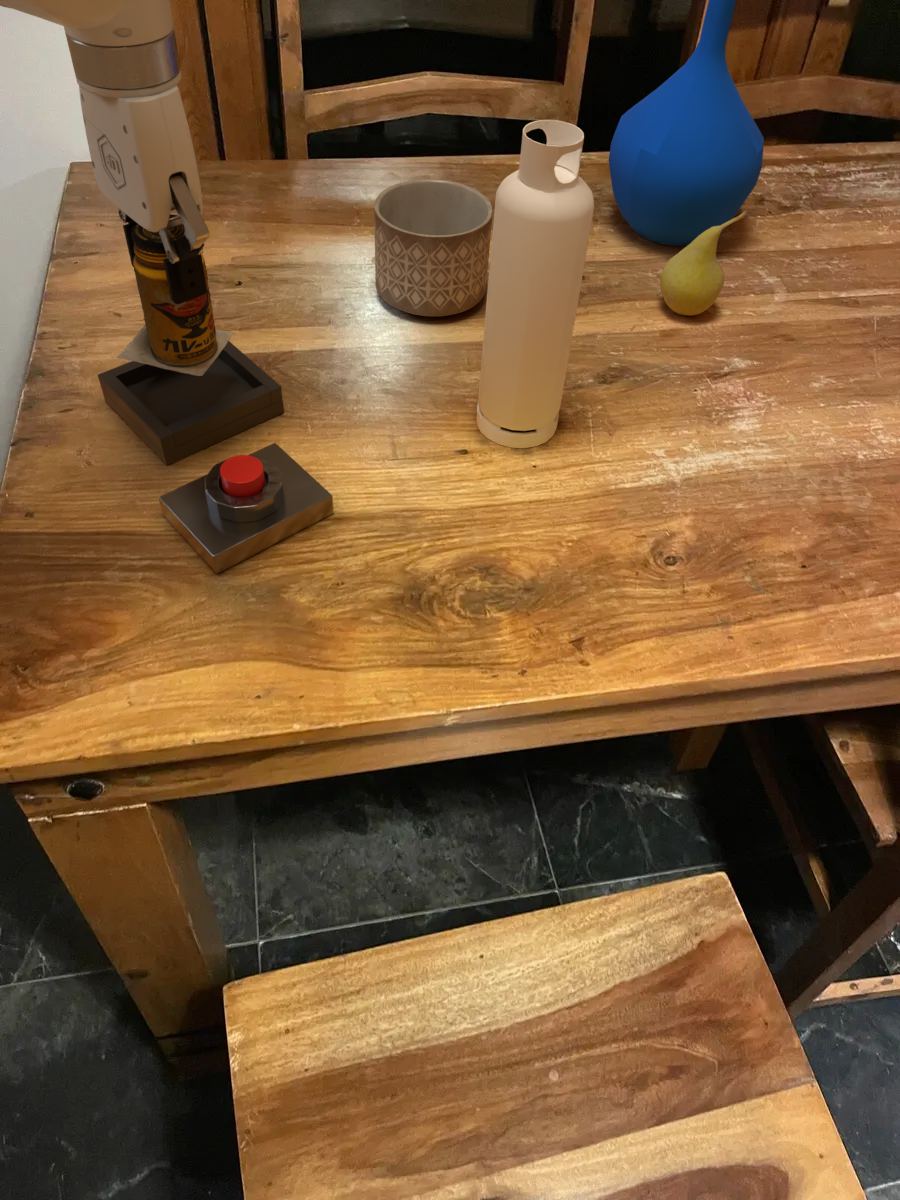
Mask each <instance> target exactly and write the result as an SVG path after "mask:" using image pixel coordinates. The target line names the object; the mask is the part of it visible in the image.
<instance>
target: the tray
mask: <svg viewBox="0 0 900 1200" xmlns="http://www.w3.org/2000/svg"><path fill="white" fill-rule="evenodd" d="M97 379H98V382H99V384H100V385H99V386H100V388H101V391H102V395H103V398H104V402H105V403H106V404H107V405H108V406H109V407H110V408H111V410H112V411H114V413H116V414H117V415H118V416H119V417H120V418H121V419H122V421H123V422H124V423H125V424H126V425H127V426H128V427H129V428H130V429H131V430H132V431H133V432H134V433H135V434H136V435H137V436H138V437H139V438H140V439H141V441H143V443H144V444H145V445H146V446H147V447H148V448H149V449H150V450H151V451H152V452H153V453H154V454H155V455H156V456H157V457H158V458H159V459H160V460H161V461H162V462H163V464H164V465H165V466H170V465H171V464H173V463H175V462H178V461H180V460H182V459H184V458H187V457H189V456H191V455H193V454H196V453H198V452H200V451H203V450H204V449H206V448H209V447H211V446H213V445H215V444H218V443H219V442H223V441H224V440H226V439H229V438H231V437H234V436H235V435H238V434H240V433H242V432H244V431H247V430H249V429H251V428H253V427H255V426H257V425H259V424H262V423H264V422H266V421H268V420H270V419H274V418H275V417H278V416H280V415H282V414H284V413H285V410H284V402H283V401H284V400H283V393H282V392H283V391H282V386H281V385H280V384H279V383H278V382H277V381H276V380H275V379H273V378H272V377H271V376H270V375H269V374H268V373H267V372H265V371H264V370H263V369H262V368H261V367H260V366H259V365H257V364H256V363H255V362H254V361H253V360H252V359H251V358H249V357H248V356H247V355H246V354H244V352H243V351H241V350H240V349H239V348H238V347H237V346H236V345H234V344H233V343H232V342H231V341H230V340H228V342H227V344H226V346H225V347H224V348H223V350H222V351H221V352H220V354H219V355H218V357H217V358H216V359H215V360H214V362H213V363H212V365H210V367H209V368H208V369H207V371H206V372H205V373H204V374H203V376H196V375H191V374H188V373H181V372H177V371H173V370H168V369H163V368H159V367H156V366H152V365H149V364H143V363H139V362H136V361H129V362H127V363H123V364H121V365H118V366H115V367H113V368H111V369H108V370H106V371H103V372H101V373H98V374H97Z"/></svg>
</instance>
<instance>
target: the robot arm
mask: <svg viewBox="0 0 900 1200" xmlns="http://www.w3.org/2000/svg"><path fill="white" fill-rule="evenodd" d="M0 7H3V8H7V9H11V10H15V11H17V12H21V13H23V14H27V15H30V16H32V17H36V18H39V19H42V20H45V21H48V22H50V23H52V24H56V25H59V26H62V27H63V30H64V33H65V38H66V42H67V47H68V50H69V54H70V58H71V62H72V67H73V73H74V76H75V79H76V83H77V85H78V89H79V98H80V99H79V100H80V107H81V113H82V119H83V125H84V130H85V135H86V140H87V141H86V142H87V146H88V151H89V156H90V160H91V161H90V162H91V166H92V171H93V175H94V180H95V183H96V186H97V188H98V189H99V191H100V192H101V194H102V195H103V196H104V197H106V199H108V200H109V201H110V202H111V203H112V204H113V205H115V207H117V213H118V217H119V218H120V221H121V222H122V223H123V224H124V225H122V228H123V233H124V237H125V241H126V245H127V250H128V254H129V259H130V263H131V266H132V267H133V268H134V266H133V261H134V257H135V252H134V242H133V240H132V235H131V234H132V229H133V227H134V225H136V224H137V223H138V224H139V225H140V226H142V227H143V228H145V229H146V230H148V231H151V232H158V231H159V234H160V237H161V240H162V243H163V246H164V249H165V251H166V254H167V257H168V258H166V259H163V261H164V266H165V271H166V276H167V281H168V286H169V291H170V296H171V300H172V301H173V302H174V303H175V304H181V303H183V302H186V301H189V300H192V299H194V298H197V297H200V296H202V295H205V294H206V292H207V286H206V280H205V274H204V268H203V262H202V256H201V254H202V255H203V254H204V246H205V243H206V242H207V241H208V239H209V238H210V231H209V228H208V225H207V223H206V222H205V220H204V218H203V216H202V214H203V210H204V209H203V207H204V206H203V204H204V203H203V194H202V186H201V179H200V173H199V169H198V163H197V159H196V154H195V149H194V144H193V140H192V139H193V138H192V135H191V131H190V126H189V123H188V122H189V121H188V119H187V113H186V110H185V106H184V102H183V99H182V95H181V92H180V89H179V86H178V84H179V83H180V82H181V80H182V69H181V64H180V57H179V50H178V44H177V38H176V33H175V27H174V26H175V25H174V18H173V14H172V13H173V12H172V7H171V1H170V0H0ZM174 210H175V211H176V212H177V217H173V218H170V219H169V216H170V214H171V212H172V211H174ZM181 225H183V226H184V229H185V232H184V235H183V236H181V237H179V238H178V240H177V241H176V243H174V240H173V237H172V234H171V231H170V229H172V228H175V227H178V226H181Z"/></svg>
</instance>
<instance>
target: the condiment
mask: <svg viewBox="0 0 900 1200" xmlns="http://www.w3.org/2000/svg"><path fill="white" fill-rule="evenodd" d="M177 216H178V214H172V213H170V216H169V219H170V218H173V217H177ZM170 231H171V234H172V237H173V240H174V243H176V241H177V240H178V238H179V237H181V236H183V235H184V232H185V229H184V226H183V225H181V226H178V227H175V228H172V229H170ZM131 235H132V240H133V242H134V252H135V257H134V261H133V266H134V267H133V266H132V267H133V271H134V276H135V280H136V281H135V282H136V285H137V286H136V287H137V290H138V294H139V298H140V304H141V309H142V312H143V320H144V325H143V327H141V328H140V330H139V332H138V333H137V334H136V335H135V336H134V337H133V339H132V341H130V342H129V343H127V345H126V346H125V347H124V349H123V350H122V351H120V353H119V354H118V355H117V356H116V359H118V360H119V359H120V360H126V361H129V362H131V361H136V362H139V363H143V364H149V365H152V366H156V367H159V368H163V369H168V370H173V371H177V372H181V373H188V374H191V375H196V376H203V374H204V373H205V372H206V371H207V369H208V368H209V367H210V365H212V363H213V362H214V360H215V359H216V358H217V357H218V355H219V354H220V352H221V351H222V350H223V348H224V347H225V346H226V344H227V342H228V341H230V339H231V338H232V337H233V335H234V334H235V332H233V331H229V330H224V329H217V328H216V325H215V323H216V320H215V317H214V310H213V309H214V308H213V305H212V299H211V295H212V294H211V292H210V286H209V277H208V270H207V265H206V260H205V257H204V255H203V254H201V256H202V262H203V268H204V274H205V280H206V286H207V292H206V294H205V295H202V296H200V297H197V298H194V299H192V300H189V301H186V302H183V303H181V304H175V303H174V302H173V301H172V300H171V296H170V291H169V286H168V281H167V276H166V271H165V266H164V261H163V259H166V258H168V257H167V254H166V251H165V249H164V246H163V243H162V240H161V237H160V234H159V231H158V232H151V231H148V230H146V229H145V228H143V227H142V226H140V225H139V224H138V223H137V224H136V225H134V227H133V229H132V234H131Z"/></svg>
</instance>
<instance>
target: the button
mask: <svg viewBox="0 0 900 1200" xmlns="http://www.w3.org/2000/svg"><path fill="white" fill-rule="evenodd" d="M249 455H250V454H238V455H234V456H231V457H229V458H227V460H226V459H225V460H226V461H225V462H224V463H223V464H222V465H221V468H220V474H221V480H222V485H223V489H224V491H225V492H226V493H227V494H228V495H230V496H232V497H236V498H243V497H252V496H254V495H256V494H258V493H260V492H261V491H262V490H263V488H264V486H265V476H264V469H263V464H262V463H261V461H260V460H259V459H257V458H255V457H253V456H249Z"/></svg>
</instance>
